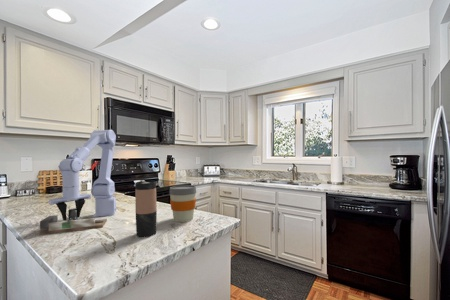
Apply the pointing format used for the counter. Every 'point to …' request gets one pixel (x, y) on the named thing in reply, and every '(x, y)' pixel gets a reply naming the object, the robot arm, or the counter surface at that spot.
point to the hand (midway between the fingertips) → (71, 218)
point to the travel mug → (145, 208)
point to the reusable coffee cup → (183, 202)
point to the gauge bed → (54, 226)
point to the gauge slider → (73, 215)
